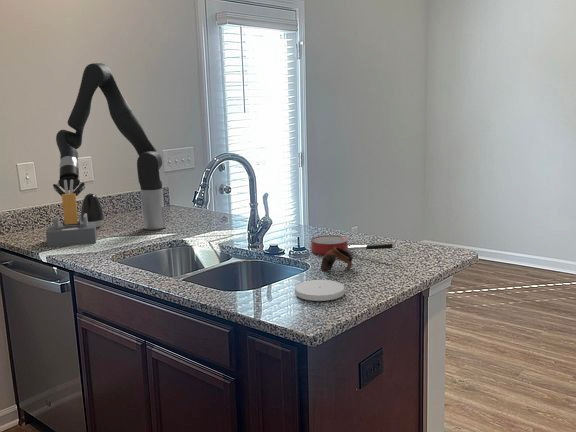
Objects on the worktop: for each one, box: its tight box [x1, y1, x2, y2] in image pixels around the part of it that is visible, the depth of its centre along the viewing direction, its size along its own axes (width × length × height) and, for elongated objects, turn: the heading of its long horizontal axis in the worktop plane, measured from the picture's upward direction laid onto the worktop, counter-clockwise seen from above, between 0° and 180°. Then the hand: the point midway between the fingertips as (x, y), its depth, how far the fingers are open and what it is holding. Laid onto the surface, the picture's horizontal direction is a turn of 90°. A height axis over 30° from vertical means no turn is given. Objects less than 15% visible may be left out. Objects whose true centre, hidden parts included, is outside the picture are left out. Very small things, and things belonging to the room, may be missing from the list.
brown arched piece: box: [320, 247, 354, 272], centre depth 194 cm, size 12×10×8 cm
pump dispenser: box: [80, 193, 105, 229], centre depth 269 cm, size 10×10×15 cm
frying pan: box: [310, 234, 394, 256], centre depth 213 cm, size 32×13×6 cm, turn 56°
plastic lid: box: [294, 279, 346, 302], centre depth 172 cm, size 14×14×2 cm
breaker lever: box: [61, 193, 81, 226], centre depth 244 cm, size 6×2×13 cm, turn 105°
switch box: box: [45, 213, 98, 248], centre depth 244 cm, size 18×13×10 cm
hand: (69, 203), depth 246 cm, fingers closed
